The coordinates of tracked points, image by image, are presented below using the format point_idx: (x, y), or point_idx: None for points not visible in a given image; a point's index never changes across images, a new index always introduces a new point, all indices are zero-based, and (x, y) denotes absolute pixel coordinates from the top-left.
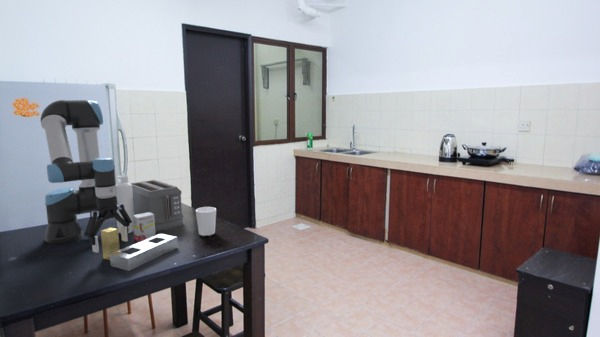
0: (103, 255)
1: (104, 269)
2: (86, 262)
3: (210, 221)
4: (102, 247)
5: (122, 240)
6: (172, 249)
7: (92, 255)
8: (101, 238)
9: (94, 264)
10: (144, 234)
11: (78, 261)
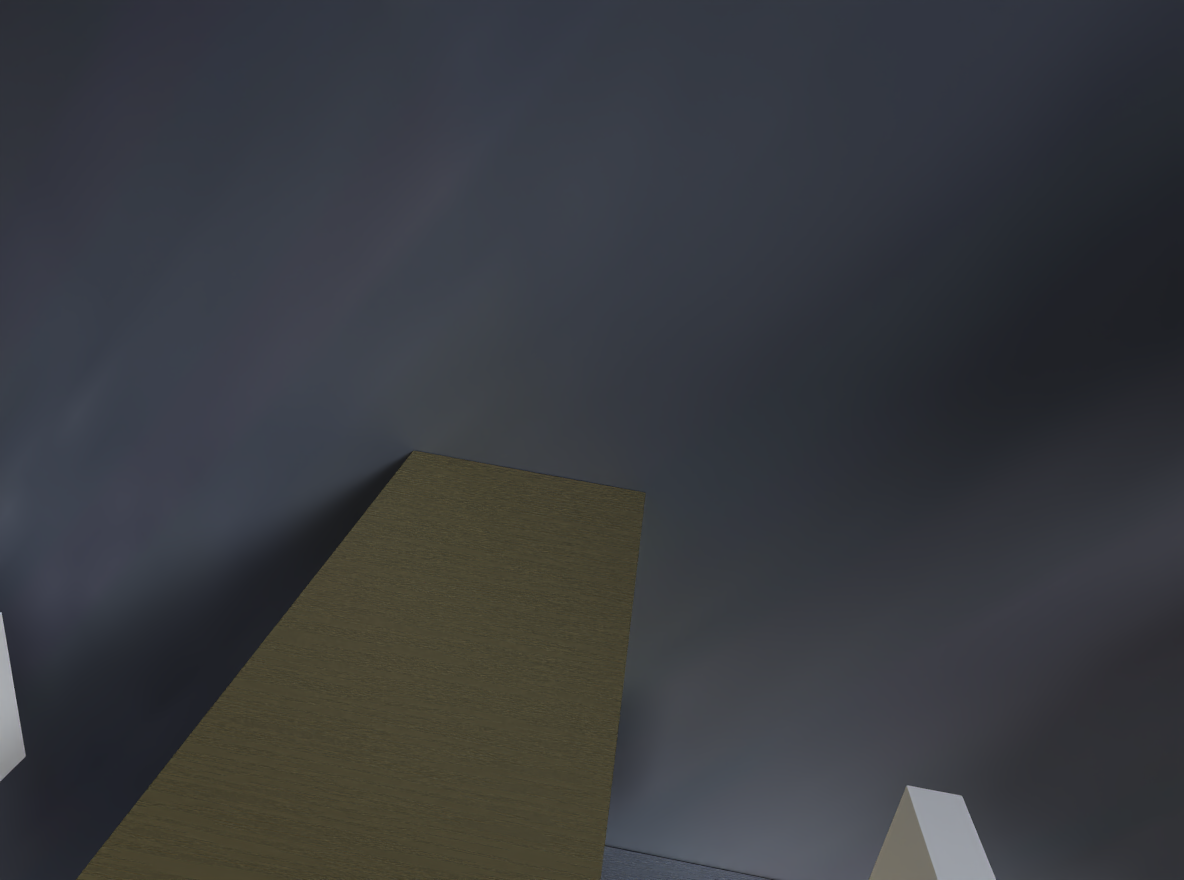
0: (388, 495)
1: (118, 756)
2: (124, 265)
3: None
4: (304, 596)
5: (902, 810)
6: None
7: (448, 57)
8: (116, 828)
9: (149, 491)
10: None
11: (59, 26)
